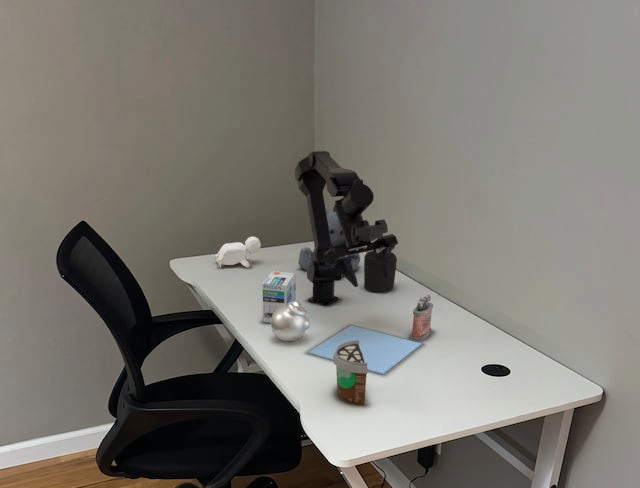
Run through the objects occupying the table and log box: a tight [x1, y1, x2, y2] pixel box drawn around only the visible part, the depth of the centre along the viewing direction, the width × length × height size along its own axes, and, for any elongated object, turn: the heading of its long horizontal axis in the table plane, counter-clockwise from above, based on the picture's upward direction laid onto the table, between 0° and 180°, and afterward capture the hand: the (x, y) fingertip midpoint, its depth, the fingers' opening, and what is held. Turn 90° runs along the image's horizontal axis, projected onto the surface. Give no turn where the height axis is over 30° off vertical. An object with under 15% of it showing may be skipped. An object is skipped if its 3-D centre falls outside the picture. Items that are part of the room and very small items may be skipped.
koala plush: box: [298, 206, 361, 277], centre depth 217 cm, size 17×18×20 cm
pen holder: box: [363, 250, 398, 294], centre depth 204 cm, size 9×9×10 cm
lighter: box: [410, 294, 434, 342], centre depth 173 cm, size 8×3×10 cm, turn 148°
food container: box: [332, 340, 368, 406], centre depth 145 cm, size 12×6×10 cm, turn 5°
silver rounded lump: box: [270, 300, 311, 342], centre depth 170 cm, size 9×10×10 cm
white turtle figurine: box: [214, 236, 262, 269], centre depth 224 cm, size 9×8×15 cm
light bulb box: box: [261, 270, 297, 324], centre depth 183 cm, size 11×7×11 cm, turn 168°
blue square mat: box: [308, 325, 422, 375], centre depth 168 cm, size 20×20×1 cm
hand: (372, 282), depth 169 cm, fingers open, 9 cm apart
